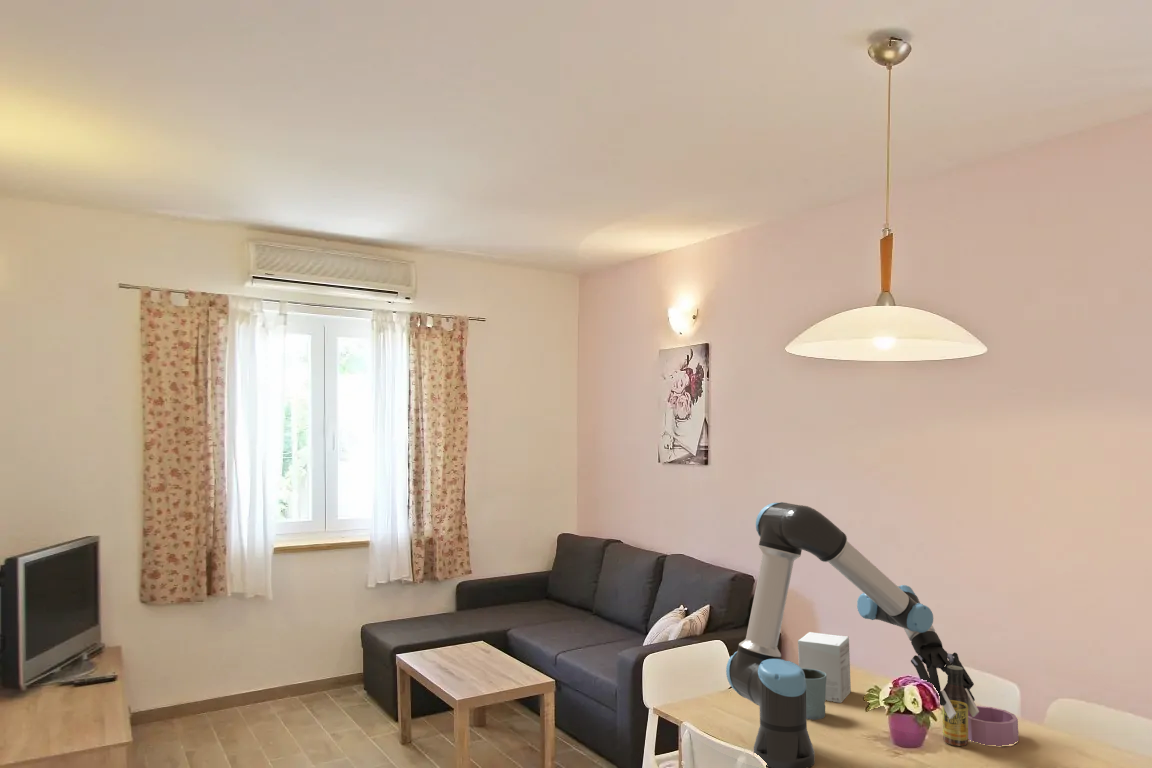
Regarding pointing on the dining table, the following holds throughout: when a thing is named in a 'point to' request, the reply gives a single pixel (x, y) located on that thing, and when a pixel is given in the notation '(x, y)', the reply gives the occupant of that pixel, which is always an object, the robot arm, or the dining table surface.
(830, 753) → the dining table surface
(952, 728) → the sauce bottle
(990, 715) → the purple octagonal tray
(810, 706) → the teal cup
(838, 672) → the supplement box
